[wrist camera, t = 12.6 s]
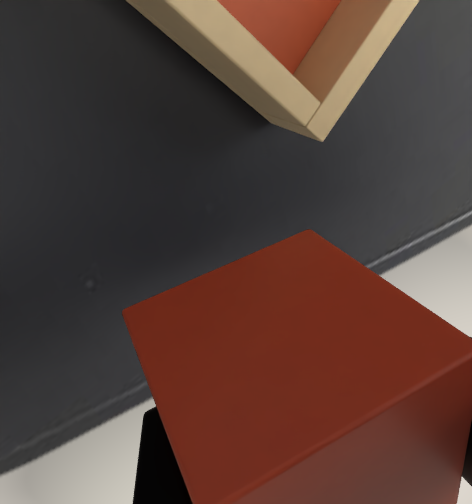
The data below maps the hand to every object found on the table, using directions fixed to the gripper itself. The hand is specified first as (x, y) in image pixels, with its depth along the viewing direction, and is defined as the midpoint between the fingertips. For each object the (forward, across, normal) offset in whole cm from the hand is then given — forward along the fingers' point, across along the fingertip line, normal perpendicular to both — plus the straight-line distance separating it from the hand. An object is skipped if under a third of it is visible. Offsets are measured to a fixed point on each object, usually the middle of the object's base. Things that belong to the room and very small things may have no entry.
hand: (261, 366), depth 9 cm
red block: (+1, 0, 0) cm, 1 cm away
